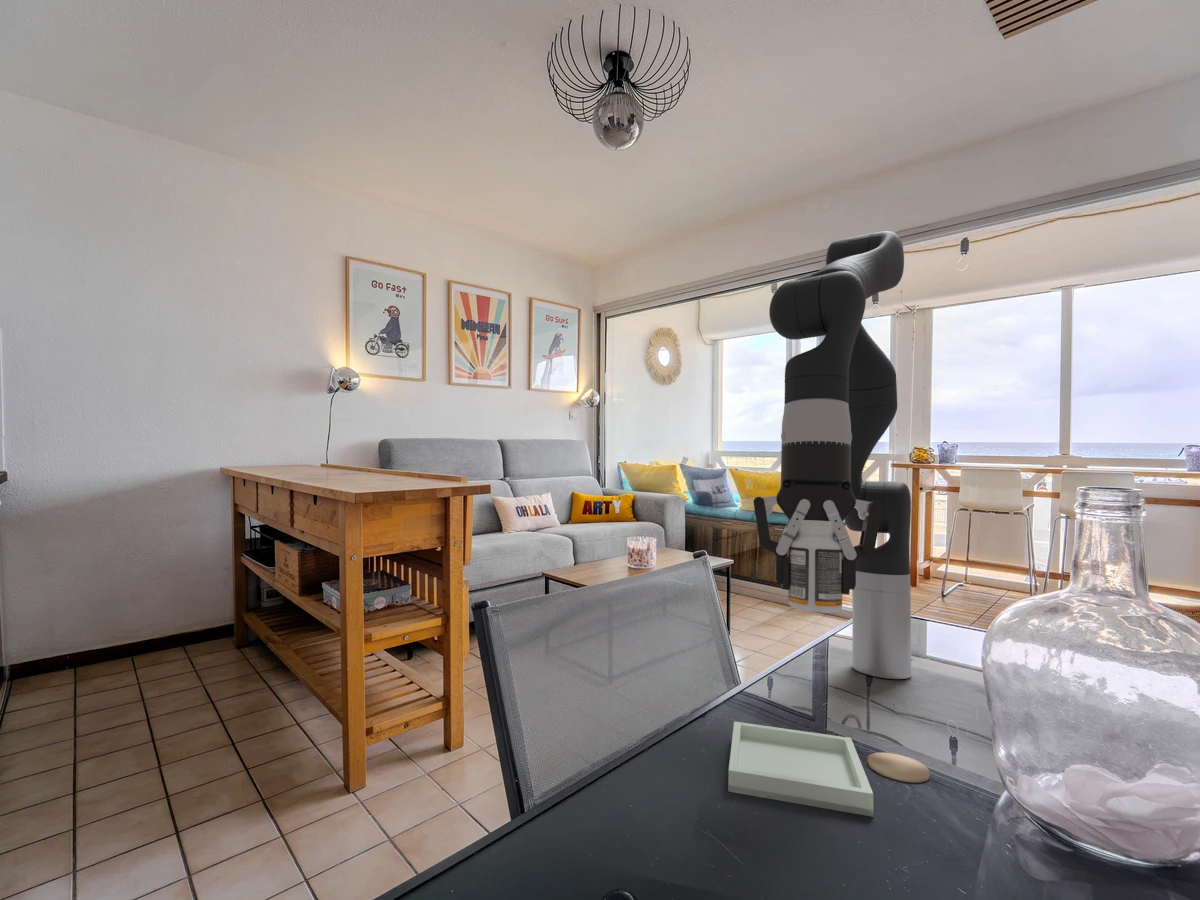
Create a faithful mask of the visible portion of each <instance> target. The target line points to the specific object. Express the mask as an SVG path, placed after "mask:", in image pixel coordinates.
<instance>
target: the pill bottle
mask: <svg viewBox="0 0 1200 900" xmlns="http://www.w3.org/2000/svg"><path fill="white" fill-rule="evenodd" d="M793 527H795V526H794V525H793ZM788 556H789V590H787V591H788V592H787V594H788V595H787V597H788V599H787V601H788V604H789V606H790V607H791V608H793V609H796V610H799V611H805V612H811V613H822V614H831V613H833V614H834V613H839V612H841V610H842V609H843V594H842V549H841V546H840V544H839V543H838V541H836V540H835V533H834V530H833V527H832V522H831V521H815V520H801V525H800V527H799V529H798V531H797V533H796V536H795V537H794V539H793V541H792V543H791V545H790V547H789V549H788Z"/></svg>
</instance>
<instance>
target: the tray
mask: <svg viewBox="0 0 1200 900" xmlns="http://www.w3.org/2000/svg"><path fill="white" fill-rule="evenodd" d="M731 737H732V738H731V747H730V755H729V763H728V775H727V776H728V780H727V781H728V782H727V784H728V787H727V788H728V789H727V790H728V791H727V792H731V793H734V794H735V793H736V794H740V795H747V796H753V797H758V798H763V799H769V800H776V801H780V802H786V803H791V804H792V803H793V804H797V805H804V806H810V807H815V808H819V809H820V808H821V809H827V810H831V811H838V812H842V813H848V814H849V813H850V814H853V815H854V814H855V815H859V816H865V817H872V818H873V817H874V811H875V810H874V807H875V806H874V791H873V790H872V787H871V785H870V782H869V779H868V777H867V775H866V773H865V769H864V767H863V764H862V761H861V760H860V757H859V754H858V753H857V752H858V751H857V749H856V747H855V745H854V742H853V740H852V737H848V736H847V737H846V736H840V735H839V736H838V735H833V734H826V733H825V734H824V733H819V732H809V731H804V730H797V729H790V728H783V727H776V726H768V725H761V724H755V723H747V722H741V721H733V730H732V736H731Z"/></svg>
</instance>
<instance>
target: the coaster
mask: <svg viewBox="0 0 1200 900" xmlns="http://www.w3.org/2000/svg"><path fill="white" fill-rule="evenodd" d="M867 765H868V767H869V768H870V769H871V770H873V772H876V773H877V774H879V775H881V776H883V777H886V778H888V779H892V780H895V781H899V782H904V783H910V784H911V783H913V784H914V783H917V784H918V783H924V782H927V781H928V780H930V778H931V772H930V769H929V768H928V767H927V766H926V765H925V764H923V763H922V762H920V761H918V760H916V759H914V758H912V757H908V756H906V755H901V754H897V753H891V752H875V753H870V754H869V755H868V756H867Z"/></svg>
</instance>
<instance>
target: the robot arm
mask: <svg viewBox="0 0 1200 900" xmlns="http://www.w3.org/2000/svg"><path fill="white" fill-rule="evenodd" d="M904 269H905V253H904V245H903V242H902V239H901V237H900V236H899V235H898V234H896V232H894V231H891V230H890V231H889V230H887V231H885V230H884V231H877V232H872V233H867V234H861V235H857V236H852V237H846V238H842V239H839V240H838V239H837V240H835V241H833V242H831V243H830V244H829V246H828V248H827V252H826V258H825V266H823V267H821V268H820V269H818V270H817V271H816V272H813V273H811V274H807V275H803V276H800V277H797V278H793V279H791V280H788V281H786V282H783V284H781V285H780V286H779V287H777V289H776V290H775V292H774V294H773V295H772V298H771V301H770V303H769V320H770V323H771V326H772V328H773V330H774V331H776V333H777V334H779V336H781V337H783V338H785V339H788V340H794V341H795V340H804V339H809V338H817V337H823V339H822V341H821V342H820V343H819V344H818V345H817V346H815V347H813V348H811V349H809V350H806V351H804V352H801V353H799V354H797V355H794V356H792V357H790V359H789V360H788V361H787V362H786V364H785V368H784V407H783V414H782V421H781V434H780V435H781V436H780V439H781V447H780V449H781V454H780V455H781V457H780V458H781V459H780V465H781V466H780V489H779V490H778V492H777V494H776V495H774V496H773V495H771V496H766V497H764V496H763V497H762V496H757V497H754V499H753V507H754V508H753V509H754V514H755V515H754V517H755V521H756V526H757V527H756V528H757V533H758V534H757V535H758V541H759V546H760V547H761V548H762V549H765V550H767V551H769V552H772V553H773V554H774V555H775V580H776V582H777V585H781V589H782V590H785V591H788V590H789V555H788V552H789V547H790V545H791V543H792V541H793V539H794V538H795V536H796V533H797V531H798V529H799V527H800V525H801V520H815V521H831V522H832V527H833V530H834V533H835V540H836V541H838V543H839V544H840V546H841V549H842V595H847V596H848V595H850V592H851V594H852V600H851V601H852V603H851V604H852V607H851V608H852V611H851V612H852V613H851V614H852V618H851V619H852V645H851V646H852V651H851V652H852V668H853V669H854V670H855V671H857V672H859V673H861V674H865V675H867V676H868V675H869V676H872V677H875V678H876V677H877V678H881V679H882V678H883V679H890V680H891V679H892V680H903V679H904V680H905V679H910V678H911V677H912V620H911V619H912V611H911V609H912V602H911V598H912V597H911V596H912V595H911V564H910V563H911V562H910V560H911V559H910V558H911V557H910V538H911V537H910V535H911V534H910V533H911V515H912V514H911V513H912V499H911V496H912V495H911V491H910V489H909V487H908V485H907V484H906V483H905V482H902V481H881V480H880V481H876V480H875V481H871V480H869V481H868V480H863V470H864V468H865V466H866V464H867V461H868V459H869V457H870V455H871V453H872V452H873V449H875V446H876V445H877V444H878V442H879V441H880V439H881V438H882V437H883V435H884V434H885V432H886V431H887V430H888V428H889V427H890V425H891V423H892V422H893V420H894V418H895V416H896V413H897V411H898V389H897V388H898V387H897V385H898V384H897V383H898V382H897V373H896V369H895V367H894V365H893V363H892V362H891V360H890V359H889V357H888V356H887V355H886V354H885V353H884V351H883V350H882V348H880V347H879V345H878V344H877V342H875V340H873V338H872V337H871V336H870V334H869V333H868V332H867V330H866V329H865V327H864V325H863V324H862V321H863V318H864V315H865V310H866V309H865V308H866V302H867V299H869V298H870V297H872V296H875V295H876V294H878V293H882V292H885V291H888V290H892V289H893V288H895V287H897V286H898V285H899V283H900V281H901V280H902V277H903V274H904V271H905V270H904ZM775 505H777V506H778V507H779V508H780V510H781V511H782V512H783V514H784V516H786V518H787V519H788V520H787V523H786V525H785V526H784V528H783V531H782V533H781V536H780V538H779V539H778V541H775V540H773V539H771V536H770V535H771V534H770V527H769V523H768V517H767V516H769V515H772V513H773V509H774V506H775ZM844 523H845V524H844ZM793 525H794V526H795V527H793ZM845 525H846V527H847V528H848V530H850V531H852V532H860V538H859V544H857V545H853V543H852V541H851V539H850V535H849V533H848V531H847V528H846V527H845ZM878 534H889V535H888V536H889V538H888V540H886V541H885V542H884V543H883V544H881V545H879V546H877V547H876V544H877V538H878ZM850 590H851V591H850Z"/></svg>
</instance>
